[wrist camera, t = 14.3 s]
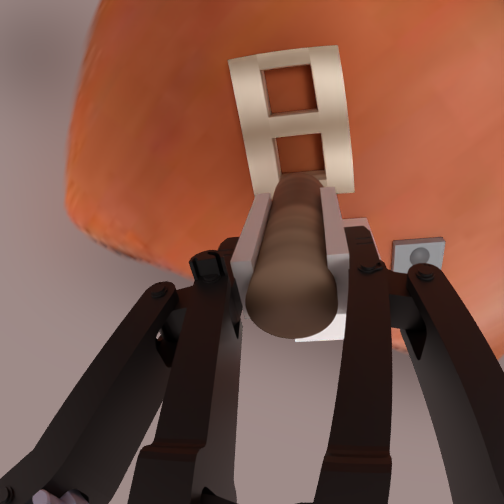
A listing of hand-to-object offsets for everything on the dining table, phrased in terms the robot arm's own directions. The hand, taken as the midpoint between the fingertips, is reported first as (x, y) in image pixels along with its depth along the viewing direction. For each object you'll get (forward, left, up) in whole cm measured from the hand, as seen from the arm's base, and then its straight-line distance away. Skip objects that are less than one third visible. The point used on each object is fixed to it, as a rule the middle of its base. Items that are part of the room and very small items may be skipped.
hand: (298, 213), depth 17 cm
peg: (0, 0, -3) cm, 3 cm away
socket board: (-3, 0, -14) cm, 15 cm away
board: (+14, +12, -14) cm, 23 cm away
